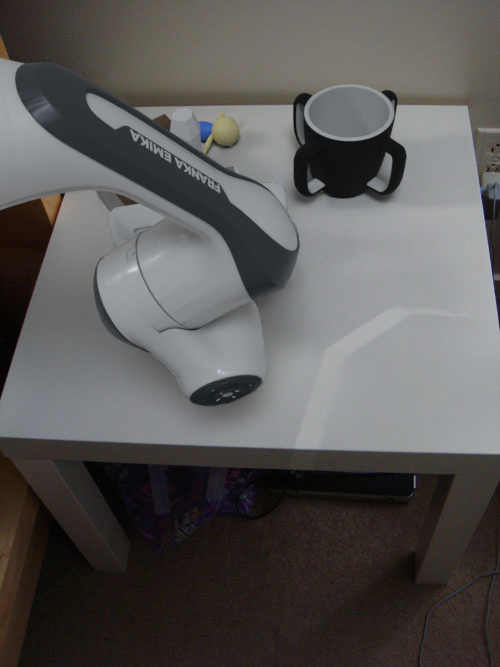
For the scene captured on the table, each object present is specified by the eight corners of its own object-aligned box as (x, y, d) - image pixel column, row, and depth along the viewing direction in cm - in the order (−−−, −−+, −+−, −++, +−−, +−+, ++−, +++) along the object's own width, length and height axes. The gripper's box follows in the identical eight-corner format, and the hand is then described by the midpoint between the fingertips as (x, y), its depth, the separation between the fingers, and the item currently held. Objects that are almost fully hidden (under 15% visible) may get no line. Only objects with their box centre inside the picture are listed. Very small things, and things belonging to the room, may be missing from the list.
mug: (398, 145, 94) (411, 76, 84) (396, 220, 85) (410, 153, 75) (295, 140, 96) (295, 72, 86) (283, 213, 87) (281, 146, 77)
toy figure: (167, 133, 99) (165, 104, 96) (214, 123, 103) (213, 95, 99) (195, 160, 93) (193, 130, 89) (244, 148, 96) (244, 120, 93)
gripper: (302, 228, 61) (277, 141, 69) (105, 261, 61) (101, 169, 68) (302, 267, 67) (279, 182, 74) (120, 298, 66) (115, 209, 74)
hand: (192, 176), depth 71 cm, fingers open, 8 cm apart
